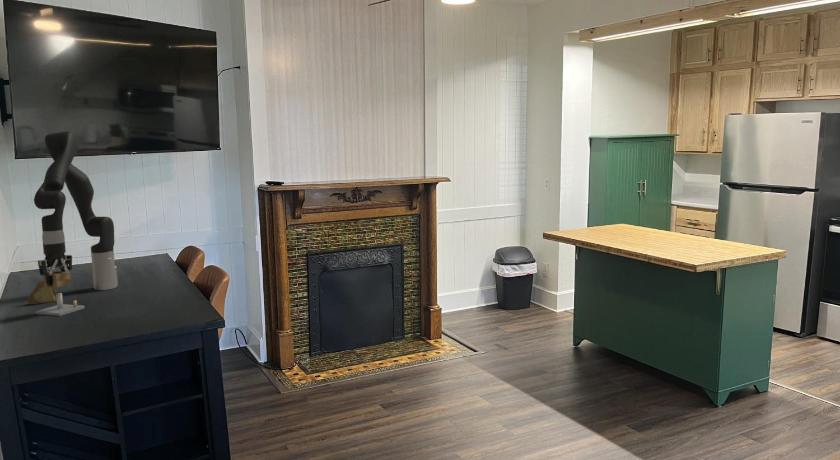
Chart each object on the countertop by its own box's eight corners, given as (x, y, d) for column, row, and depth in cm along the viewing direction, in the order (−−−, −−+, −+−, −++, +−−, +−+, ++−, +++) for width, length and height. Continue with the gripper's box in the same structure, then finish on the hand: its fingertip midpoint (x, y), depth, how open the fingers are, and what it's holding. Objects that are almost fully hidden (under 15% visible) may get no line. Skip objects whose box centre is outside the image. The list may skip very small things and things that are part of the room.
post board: (61, 306, 256) (59, 289, 255) (84, 308, 253) (83, 291, 252) (35, 313, 245) (33, 296, 244) (59, 315, 242) (58, 298, 241)
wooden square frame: (58, 283, 251) (57, 271, 251) (70, 284, 250) (69, 271, 249) (44, 286, 245) (43, 274, 245) (57, 287, 244) (56, 274, 243)
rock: (22, 301, 257) (48, 296, 258) (23, 282, 260) (49, 278, 262) (34, 311, 266) (59, 306, 268) (35, 293, 270) (60, 288, 272)
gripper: (61, 239, 253) (65, 279, 255) (30, 244, 240) (34, 287, 242) (76, 239, 251) (79, 280, 253) (45, 244, 237) (49, 288, 239)
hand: (57, 283), depth 247 cm, fingers closed on wooden square frame, 6 cm apart
